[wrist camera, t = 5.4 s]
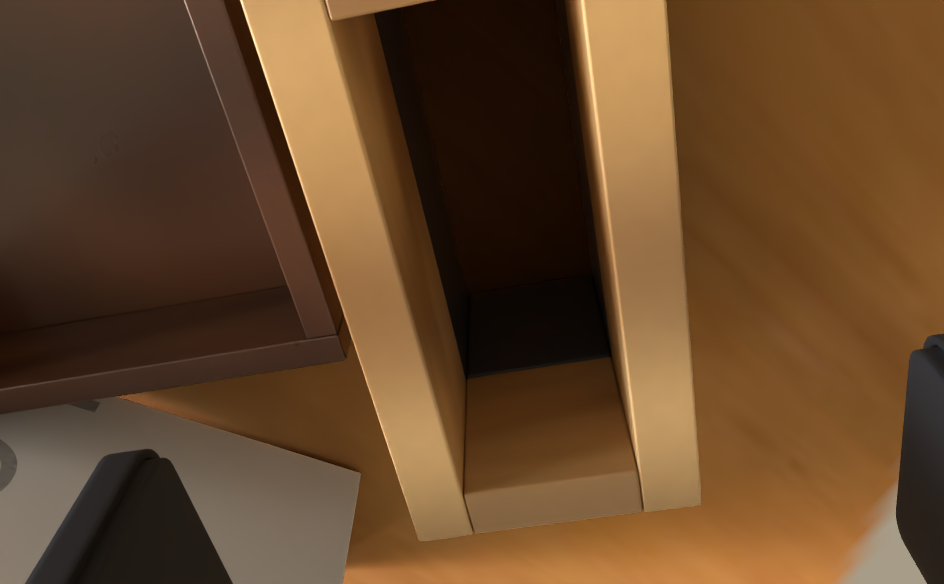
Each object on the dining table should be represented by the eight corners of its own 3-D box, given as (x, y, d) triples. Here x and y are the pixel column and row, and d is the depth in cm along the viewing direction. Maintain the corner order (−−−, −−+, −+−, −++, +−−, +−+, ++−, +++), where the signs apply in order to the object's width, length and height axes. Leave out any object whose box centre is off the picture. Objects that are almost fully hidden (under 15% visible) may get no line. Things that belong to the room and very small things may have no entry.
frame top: (283, -83, 15) (222, -47, 11) (614, -156, 14) (656, -142, 11) (429, 421, 21) (418, 543, 17) (664, 386, 20) (702, 506, 17)
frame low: (320, -104, 18) (283, -83, 15) (588, -164, 17) (614, -156, 14) (436, 333, 24) (429, 421, 21) (638, 301, 24) (664, 386, 20)
